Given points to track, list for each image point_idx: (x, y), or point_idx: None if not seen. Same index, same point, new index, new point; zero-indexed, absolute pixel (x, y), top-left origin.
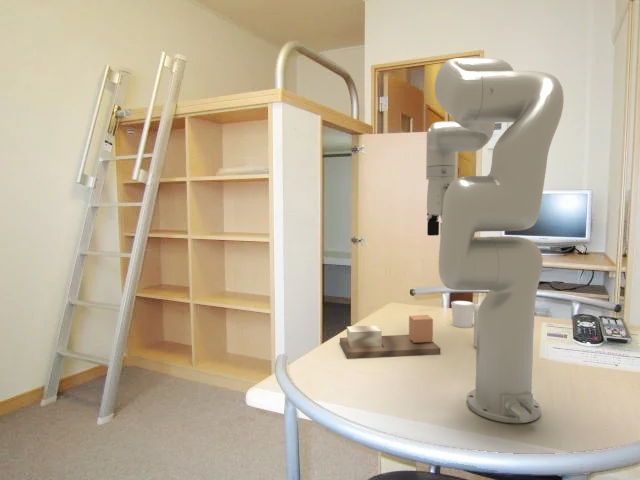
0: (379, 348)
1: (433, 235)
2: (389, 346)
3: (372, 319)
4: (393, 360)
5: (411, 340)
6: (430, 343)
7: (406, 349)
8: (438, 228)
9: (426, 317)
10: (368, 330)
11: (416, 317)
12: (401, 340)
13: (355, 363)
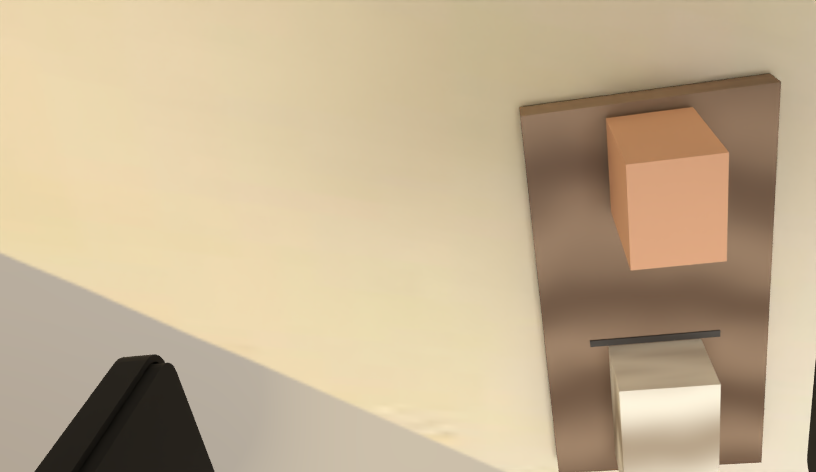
0: (729, 349)
1: (190, 426)
2: (709, 308)
3: (168, 301)
4: (809, 292)
5: None
6: None
7: (767, 245)
8: (114, 449)
9: (687, 182)
10: (704, 433)
11: (678, 238)
12: None
13: None
